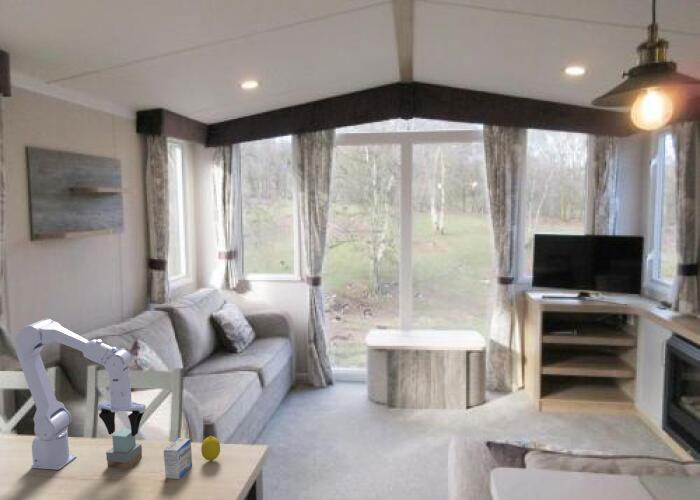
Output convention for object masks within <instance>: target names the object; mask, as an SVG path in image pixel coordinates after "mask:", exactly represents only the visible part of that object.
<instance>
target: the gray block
mask: <svg viewBox="0 0 700 500" xmlns="http://www.w3.org/2000/svg"><path fill="white" fill-rule="evenodd" d="M141 452H142V453H143V450H142V444H141V443H136V445H135V446H134V447H133V448H132V449H131V450H129V451H128V452H116V451H113V447H112V448H110V449H109V450H108V451H107V450H106V452H105V455H106V461H108V460H109V461H115V462H121V463H127V462H129V461H130V460H132V459H133V458H134V457H136V456H137V455H138V454H140V453H141Z"/></svg>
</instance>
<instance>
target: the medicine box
mask: <svg viewBox="0 0 700 500" xmlns="http://www.w3.org/2000/svg"><path fill="white" fill-rule="evenodd" d="M192 454H193V453H192V440H191V439H190V438H185V437H178V438H176V439H175V440H174V441H173V442H172V443H171V444H169V445H168V446H167V447H166V448H165V449H164V450H163V460H164V473H165V475H164V477H165V479H173V480H180V479H181V478H182V477H183V476H184V474H185V473H186V472H188V470H189V469H191V467H192V466H193V456H192Z"/></svg>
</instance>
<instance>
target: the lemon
mask: <svg viewBox="0 0 700 500" xmlns="http://www.w3.org/2000/svg"><path fill="white" fill-rule="evenodd" d="M200 448H201V454H202V458H204V459H205V460H206V461H210V462H213V461H215V459H216V460H217V458H218V457H219V455H220V453H221V444H220V441H219V440H218V438H216V437H215V436H212V435H209V436H208V437H206V438H205V439H204V440H203V441H202V444H201V447H200Z"/></svg>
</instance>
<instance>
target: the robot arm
mask: <svg viewBox="0 0 700 500" xmlns="http://www.w3.org/2000/svg"><path fill="white" fill-rule="evenodd" d="M15 339H16V341H17V345H16V358H17V359H18V362H19V364H20V366H21V367H20V368H21V369H22V372H23V376H24V378H25V380H26V383H27V386H28V389H29V391H30V394H31V397H32V400H33V402H34V405H35V408H36V411H35V413H34V415H33V423H34V427H33V428H34V430H33V431H34V434H35V437H34V438H33V439H32V440H33V441H32V444H31V452H32V453H31V454H32V465H31V466H30V468H31V469H43V470H56V471H59V470H62V468H64V467H65V466H66V465H68V464H69V463H70V462H72V461H73V460H74V459H77V455H74V454H70V446H69V436H68V435H69V434H68V430H69V428H68V426H69V425H70V424H71V422H72V415H71V412H70V411H69V410H67V409H66V407H65V405H64V403H63V402H61V401H58V400H57V398H56V395H55V392H54V390H53V387H52V384H51V381H50V379H49V376H48V373H47V370H46V367H45V364H44V362H43V359H42V356H41V354H40V352H41V351H42V350H43V348H44V347H45V345H46V344H50V343H55V342H56V343H59V344H62V345H64V346H67V347H70V348H73V349H75V350H77V351H80V352H82V355H83V357H84V358H86V359H89V361H92V362H94V363H97V364H98V365H101V366H104V369H105V371H106V372H107V373H108V379H109V380H108V382H109V395H110V401H108V402H107V401H105V402H104V401H103V402H102V401H101V402H100V403H98V404H97V411H98V412H100V413H99V414H98V416H99V418H100V419H101V420H102V422H103V423H104V425H105V428H106V430H107V433H108V435H111V436H112V435H113V434H114V433H116V432H115V431H116V424H115V422H116V413H118V412H130V413H129V415H127V419H128V420H129V423H130V424H129V425H130V429H131V433H132V436H135V437H136V435H137V434H138V433H139V427H140V425H141V424H140V423H141V421H142V418H143V417H144V413H145V412H146V411H147V407H146V404H143V403H138V402H135V401H133V400H132V387H131V373H130V372H131V371H130V365H131V364H132V362H133V361H132V360H133V355H132V353H131V352H130V351H129V350H127V349H126V348H123V347H122V348H117V347H116V346H110V345H108V344H106V343H104V342H103V340H102V339H100V338H99V339H95V338H94V339H91V340H88V339H86V338H84V337H82V336H81V335H79V334H77V333H74V332H73V331H71V330H69V329H67V328H65V327H63V326H62V325H61V324H60V323H59V322H57V321H54V320H52V319H50V318H42V319H40V320H39V321H36V322H33V323H31V324H29V325H28V324H27V325H25V326H23V327H21V328H20V329H19V330H18V333H16V335H15Z"/></svg>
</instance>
